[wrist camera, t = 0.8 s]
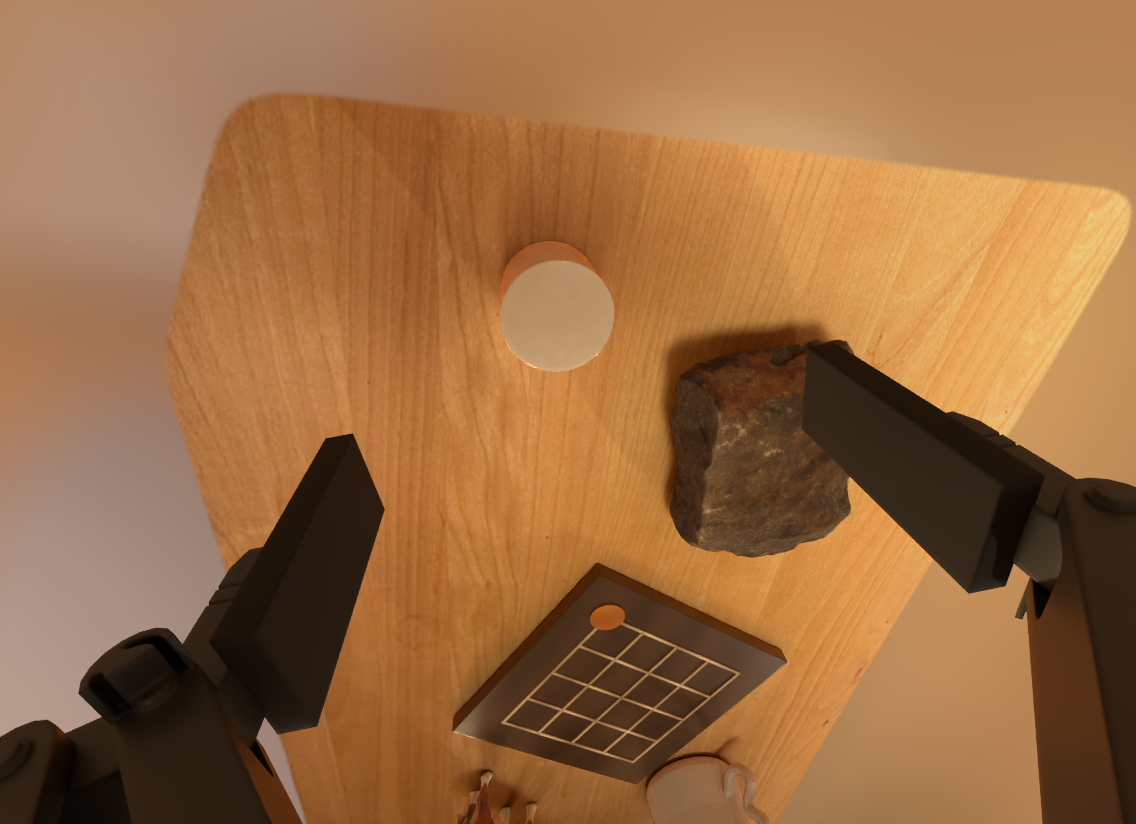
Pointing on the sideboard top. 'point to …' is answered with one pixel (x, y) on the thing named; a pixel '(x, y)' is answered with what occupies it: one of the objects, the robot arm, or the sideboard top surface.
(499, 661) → the sideboard top surface
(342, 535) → the robot arm
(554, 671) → the grid board
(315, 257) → the sideboard top surface
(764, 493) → the stone
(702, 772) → the mug
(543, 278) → the white short cylinder
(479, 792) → the bull figurine
